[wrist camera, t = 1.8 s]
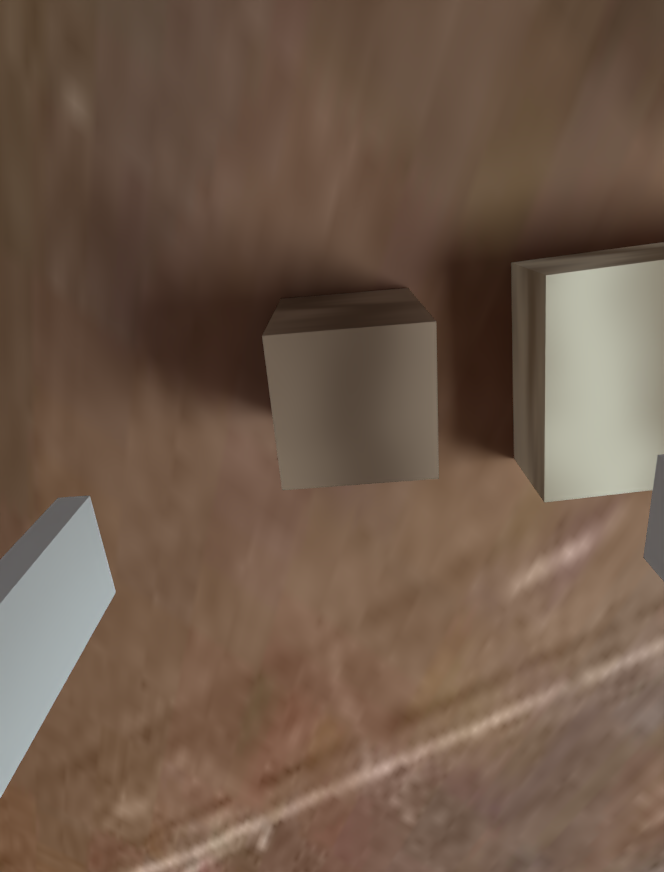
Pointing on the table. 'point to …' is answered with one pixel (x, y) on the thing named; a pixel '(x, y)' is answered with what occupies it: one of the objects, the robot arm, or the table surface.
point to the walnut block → (353, 389)
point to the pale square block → (589, 371)
